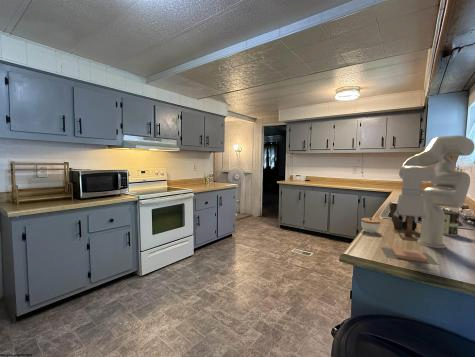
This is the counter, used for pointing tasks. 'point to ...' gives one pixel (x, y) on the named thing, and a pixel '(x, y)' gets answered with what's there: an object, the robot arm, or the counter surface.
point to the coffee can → (451, 223)
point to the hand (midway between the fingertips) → (408, 229)
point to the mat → (389, 254)
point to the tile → (408, 254)
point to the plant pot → (396, 221)
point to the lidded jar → (370, 225)
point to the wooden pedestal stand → (408, 230)
